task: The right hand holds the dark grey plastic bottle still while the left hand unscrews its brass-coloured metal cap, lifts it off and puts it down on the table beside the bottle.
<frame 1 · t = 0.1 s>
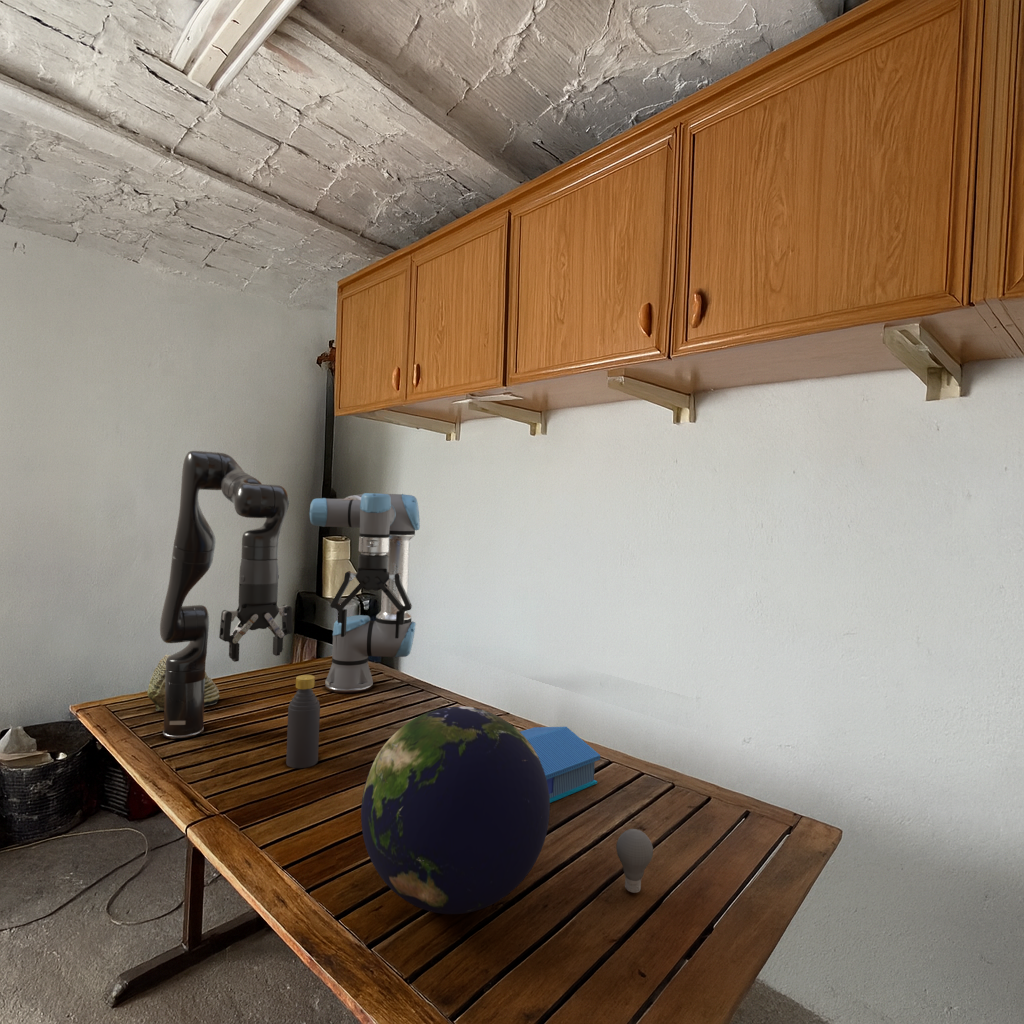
left hand: (256, 657, 132), 29 cm above the table, tool pointing down, fingers open, 8 cm apart
right hand: (370, 636, 162), 28 cm above the table, tool pointing down, fingers open, 13 cm apart
model building: (508, 793, 139), on the table
light bulb: (632, 891, 106), on the table
fossil: (183, 706, 185), on the table
cap: (305, 678, 150), point 20 cm above the table, screwed on, not yet turned
bottle: (302, 761, 151), on the table
anatomical model: (441, 723, 180), on the table
globe: (452, 897, 102), on the table
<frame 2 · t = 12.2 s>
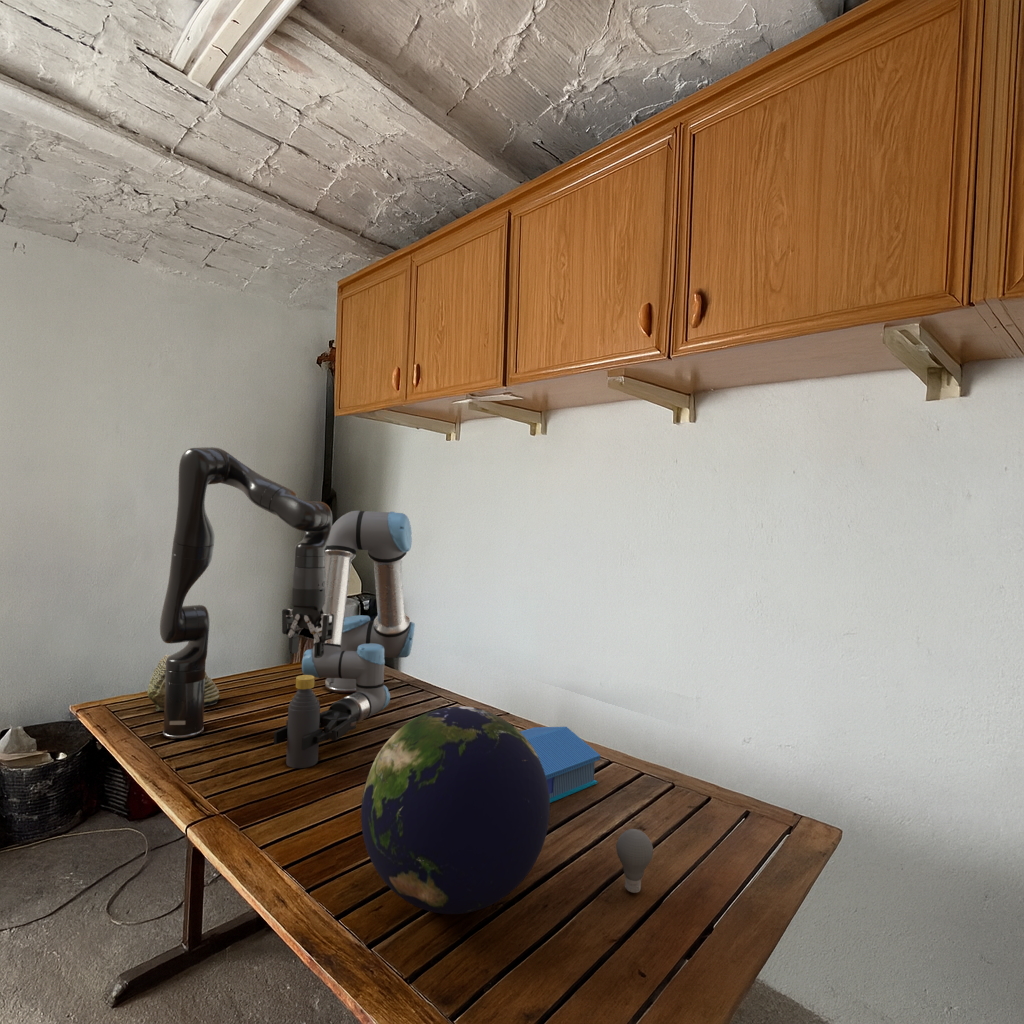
left hand: (306, 655, 150), 26 cm above the table, tool pointing down, fingers open, 7 cm apart
right hand: (289, 741, 146), 7 cm above the table, tool horizontal, fingers closed on bottle, 7 cm apart
bottle: (302, 761, 151), on the table, touching right hand
everything else where it was.
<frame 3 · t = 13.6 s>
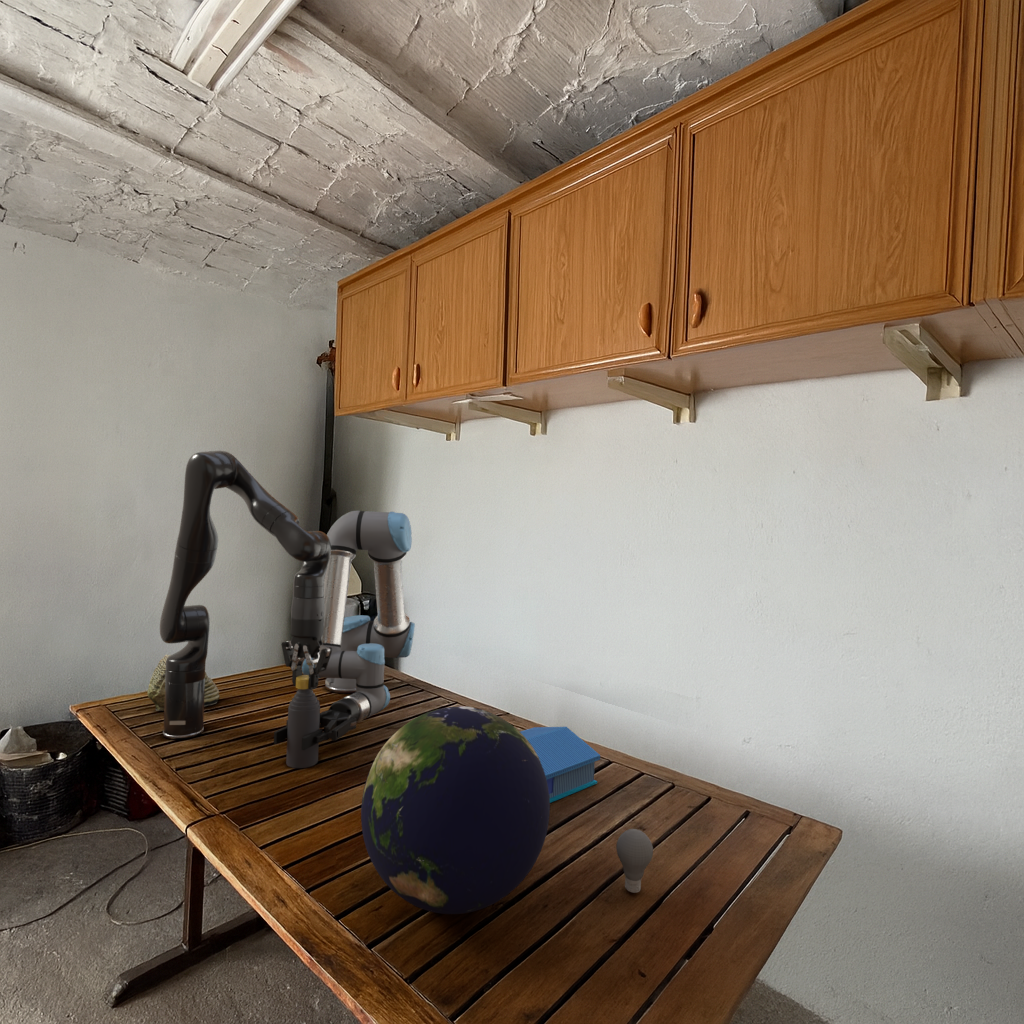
left hand: (305, 686, 150), 18 cm above the table, tool pointing down, fingers closed on cap, 4 cm apart
right hand: (289, 740, 146), 7 cm above the table, tool horizontal, fingers closed on bottle, 7 cm apart
cap: (305, 678, 150), point 20 cm above the table, screwed on, not yet turned, touching left hand
bottle: (302, 761, 151), on the table, touching right hand
everything else where it was.
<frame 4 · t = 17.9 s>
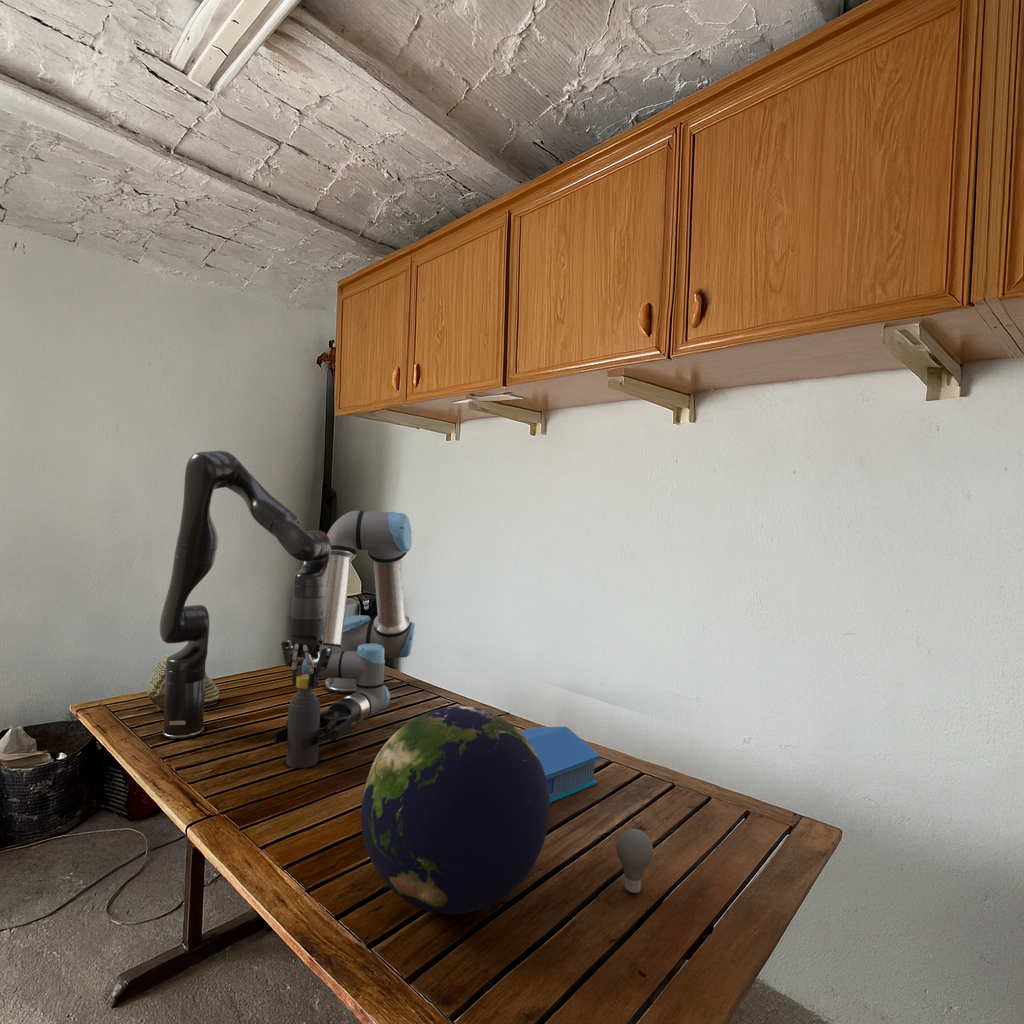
left hand: (305, 686, 150), 18 cm above the table, tool pointing down, fingers closed on cap, 4 cm apart
right hand: (289, 740, 146), 7 cm above the table, tool horizontal, fingers closed on bottle, 7 cm apart
cap: (305, 677, 150), point 20 cm above the table, turned 98° so far, risen 0.1 cm, still on its thread, touching left hand
bottle: (302, 761, 151), on the table, touching right hand
everything else where it was.
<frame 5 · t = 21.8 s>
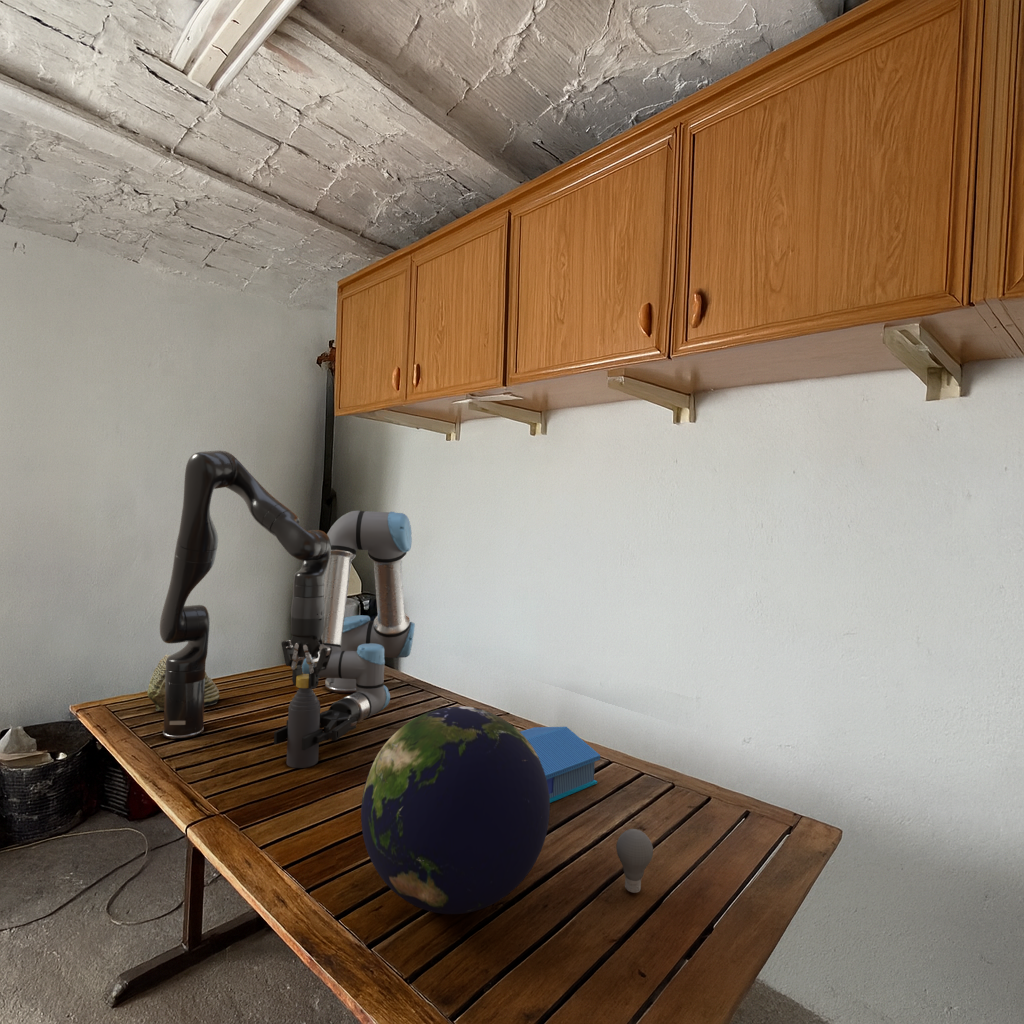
left hand: (305, 686, 150), 18 cm above the table, tool pointing down, fingers closed on cap, 4 cm apart
right hand: (289, 741, 146), 7 cm above the table, tool horizontal, fingers closed on bottle, 7 cm apart
cap: (305, 677, 150), point 20 cm above the table, turned 197° so far, risen 0.2 cm, still on its thread, touching left hand
bottle: (302, 761, 151), on the table, touching right hand
everything else where it was.
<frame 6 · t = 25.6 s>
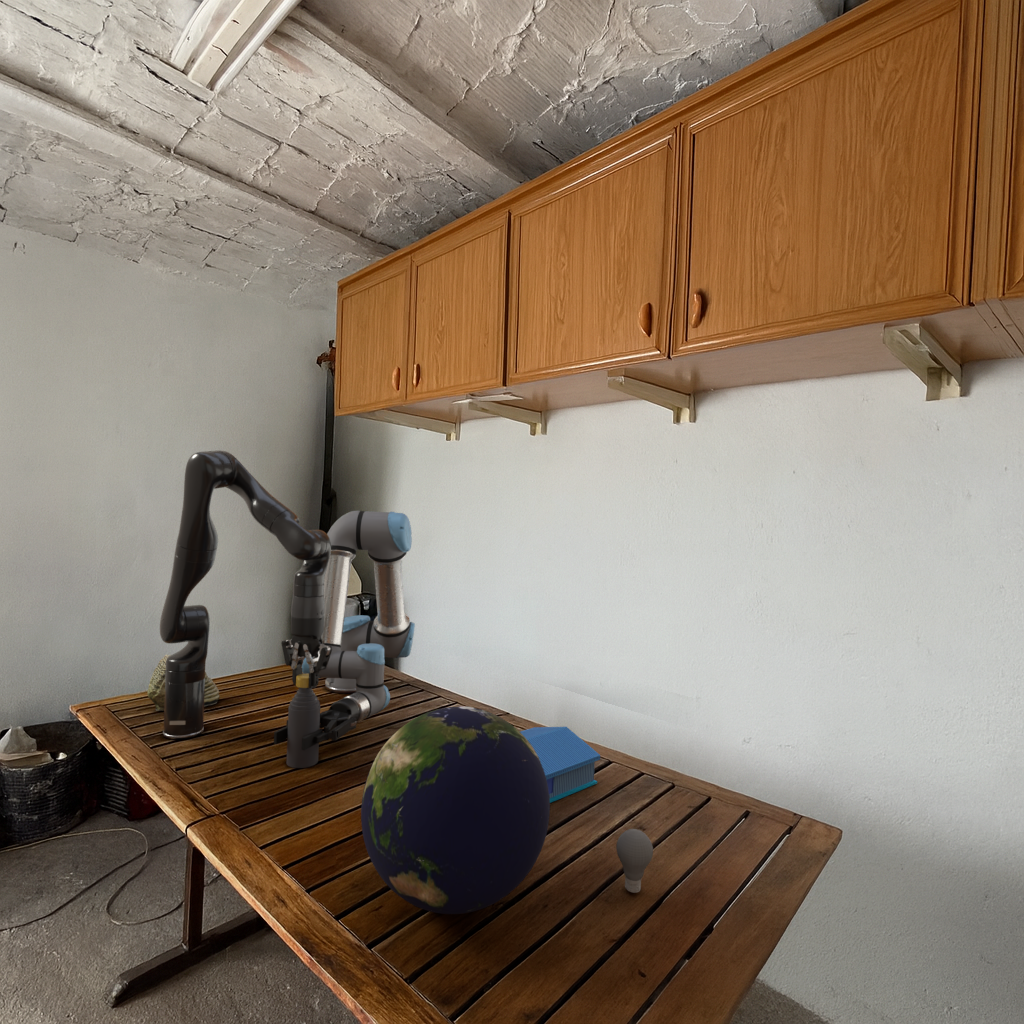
left hand: (305, 685, 150), 18 cm above the table, tool pointing down, fingers closed on cap, 4 cm apart
right hand: (289, 741, 146), 7 cm above the table, tool horizontal, fingers closed on bottle, 7 cm apart
cap: (305, 677, 150), point 20 cm above the table, turned 296° so far, risen 0.3 cm, still on its thread, touching left hand
bottle: (302, 761, 151), on the table, touching right hand
everything else where it was.
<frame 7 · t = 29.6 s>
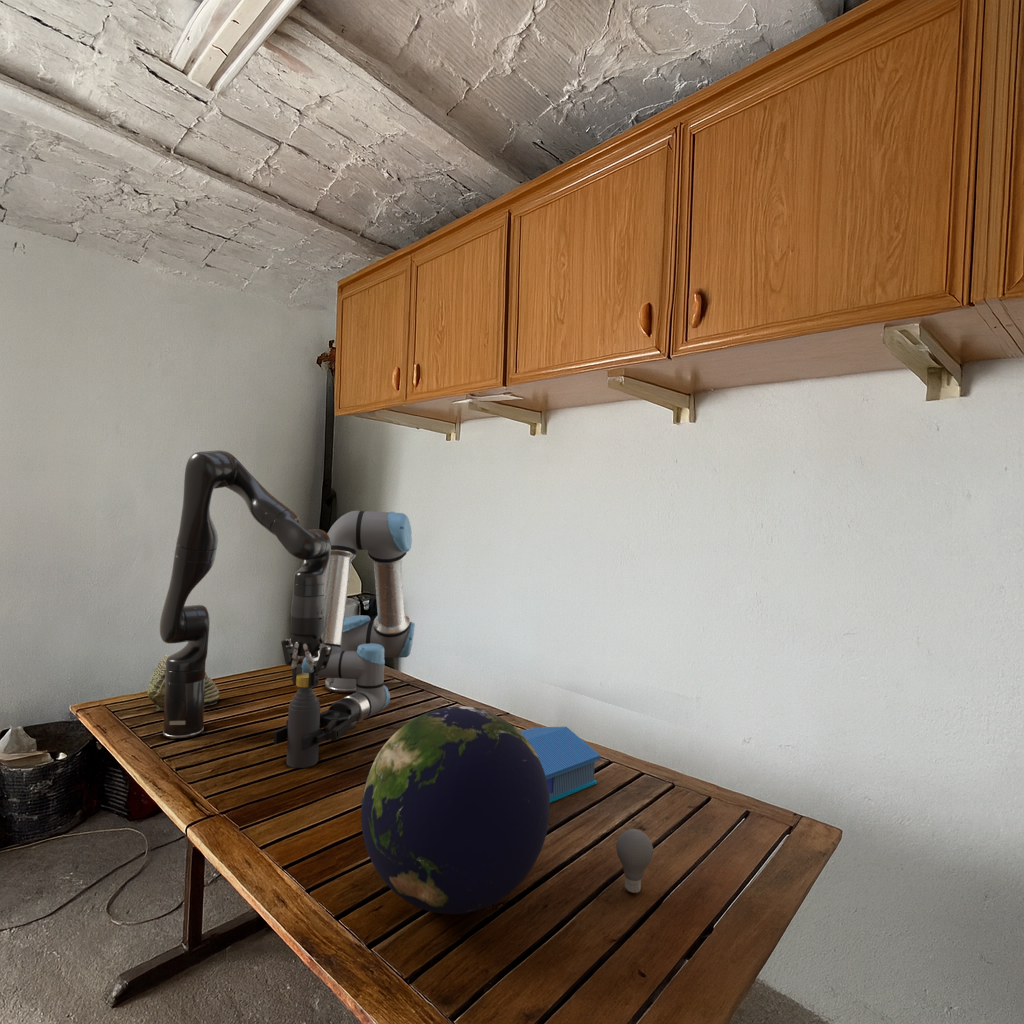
left hand: (305, 685, 150), 18 cm above the table, tool pointing down, fingers closed on cap, 4 cm apart
right hand: (289, 741, 146), 7 cm above the table, tool horizontal, fingers closed on bottle, 7 cm apart
cap: (305, 676, 150), point 20 cm above the table, turned 394° so far, risen 0.4 cm, still on its thread, touching left hand
bottle: (302, 761, 151), on the table, touching right hand
everything else where it was.
when the left hand's fingers open (2 cm above the table, at t = 36.5 s): cap drops 2 cm, point 2 cm above the table.
when the right hand's fingers open (7 cm above the table, at t = 37.6 s): bottle stays where it is, on the table.
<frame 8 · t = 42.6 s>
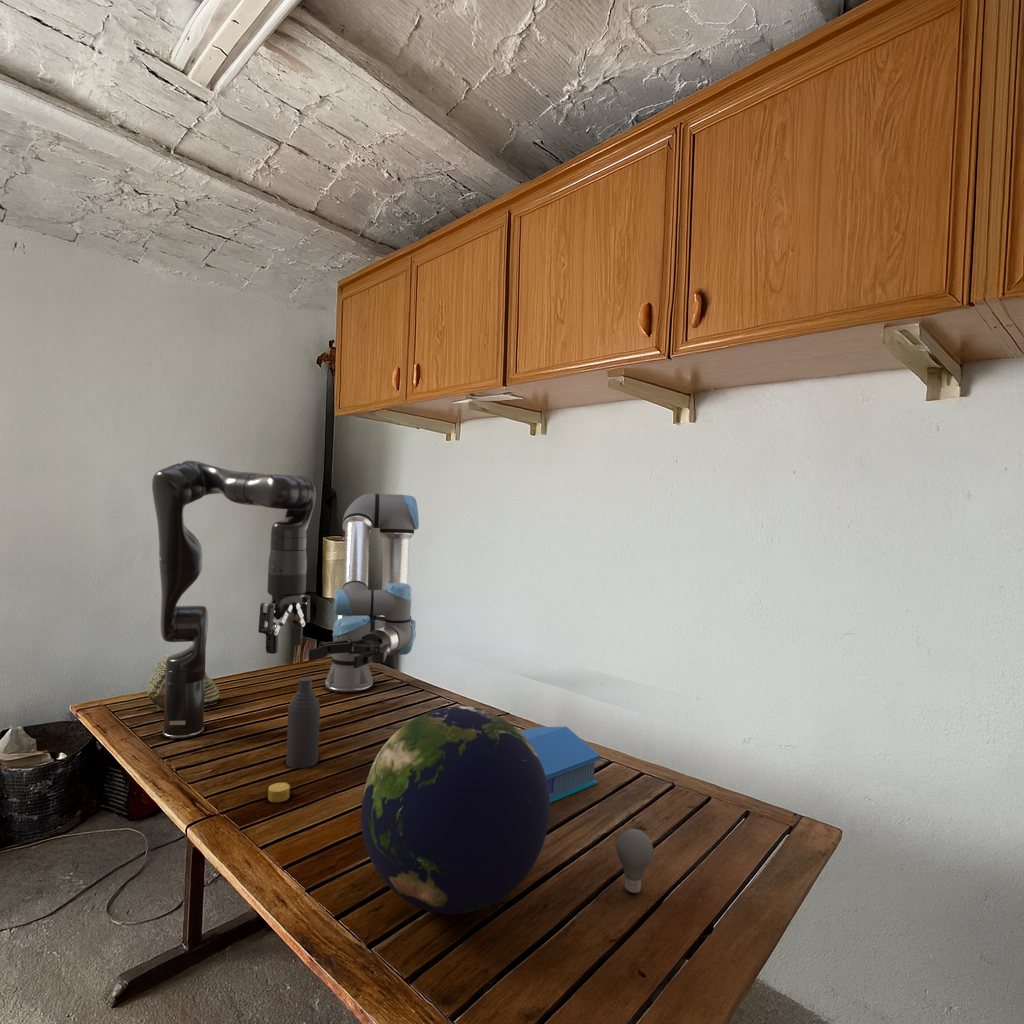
left hand: (284, 648, 132), 31 cm above the table, tool pointing down, fingers open, 8 cm apart
right hand: (332, 659, 160), 22 cm above the table, tool horizontal, fingers open, 13 cm apart
cap: (279, 788, 133), point 2 cm above the table, off its thread
bottle: (302, 761, 151), on the table
everything else where it was.
at the end: cap came off its thread; cap point 2.0 cm above the table; the left hand is holding nothing; the right hand is holding nothing; bottle tilted 0°; bottle moved 0.0 cm from its start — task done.
